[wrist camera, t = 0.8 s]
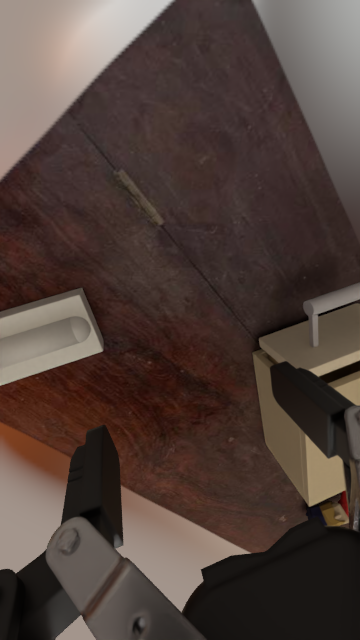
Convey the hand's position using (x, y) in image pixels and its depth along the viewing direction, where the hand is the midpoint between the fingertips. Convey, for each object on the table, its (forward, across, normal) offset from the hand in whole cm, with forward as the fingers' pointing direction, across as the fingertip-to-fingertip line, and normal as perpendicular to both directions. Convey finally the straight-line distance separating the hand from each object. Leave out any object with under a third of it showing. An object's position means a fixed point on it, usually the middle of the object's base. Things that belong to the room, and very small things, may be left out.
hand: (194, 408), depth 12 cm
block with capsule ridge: (+15, +10, -1) cm, 18 cm away
